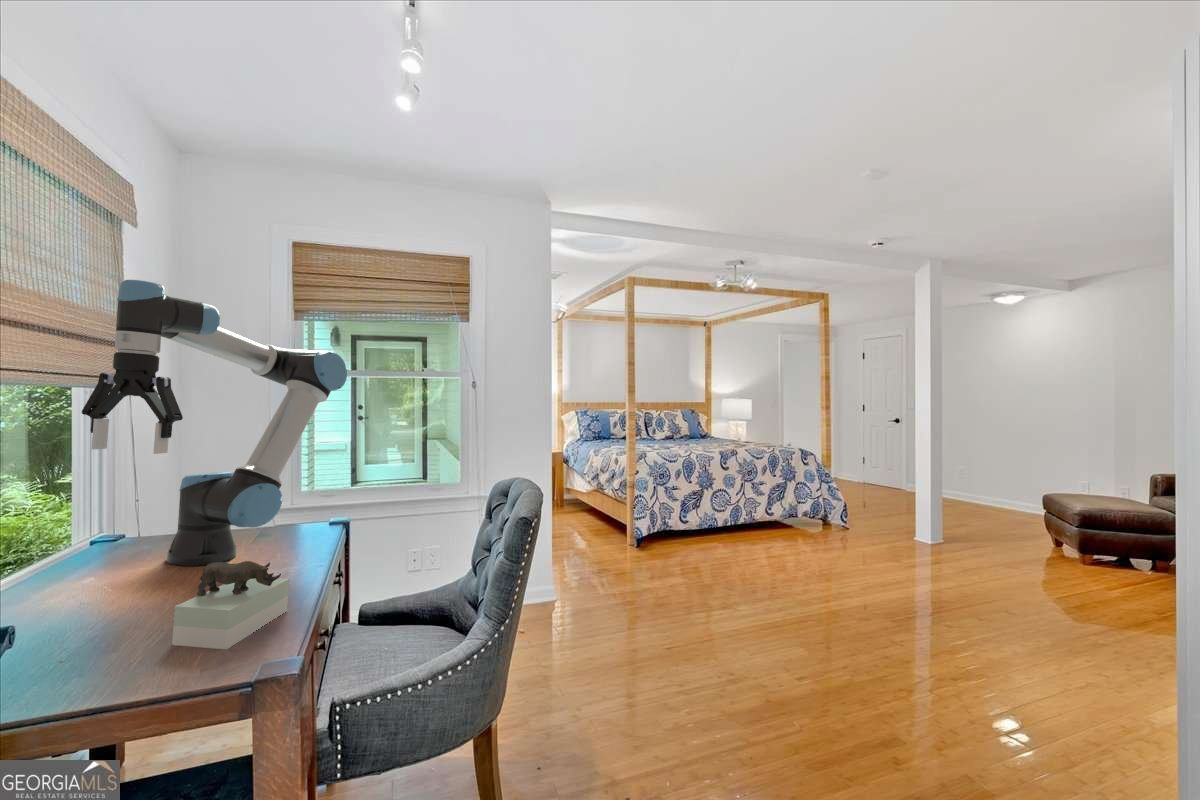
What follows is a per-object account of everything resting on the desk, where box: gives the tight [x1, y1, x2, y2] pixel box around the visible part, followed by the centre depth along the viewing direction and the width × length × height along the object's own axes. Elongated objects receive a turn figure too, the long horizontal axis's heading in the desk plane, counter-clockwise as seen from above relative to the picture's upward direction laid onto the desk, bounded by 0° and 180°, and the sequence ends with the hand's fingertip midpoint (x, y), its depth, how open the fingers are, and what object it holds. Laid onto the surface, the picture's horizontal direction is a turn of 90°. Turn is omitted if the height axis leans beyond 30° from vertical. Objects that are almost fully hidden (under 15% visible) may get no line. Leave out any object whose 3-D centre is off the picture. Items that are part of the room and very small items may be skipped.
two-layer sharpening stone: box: [171, 577, 290, 650], centre depth 106 cm, size 18×10×7 cm, turn 178°
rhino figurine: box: [196, 560, 282, 596], centre depth 106 cm, size 4×14×6 cm, turn 111°
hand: (129, 451), depth 117 cm, fingers open, 13 cm apart
